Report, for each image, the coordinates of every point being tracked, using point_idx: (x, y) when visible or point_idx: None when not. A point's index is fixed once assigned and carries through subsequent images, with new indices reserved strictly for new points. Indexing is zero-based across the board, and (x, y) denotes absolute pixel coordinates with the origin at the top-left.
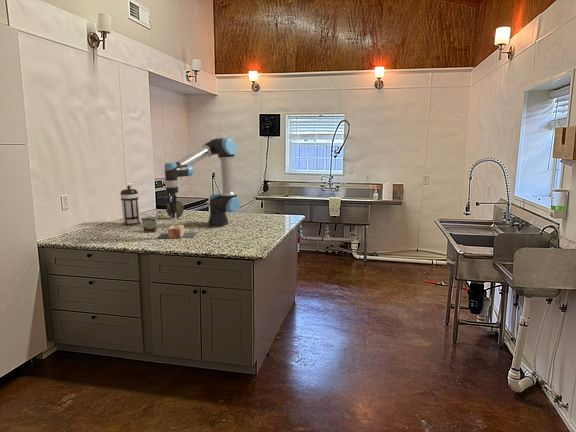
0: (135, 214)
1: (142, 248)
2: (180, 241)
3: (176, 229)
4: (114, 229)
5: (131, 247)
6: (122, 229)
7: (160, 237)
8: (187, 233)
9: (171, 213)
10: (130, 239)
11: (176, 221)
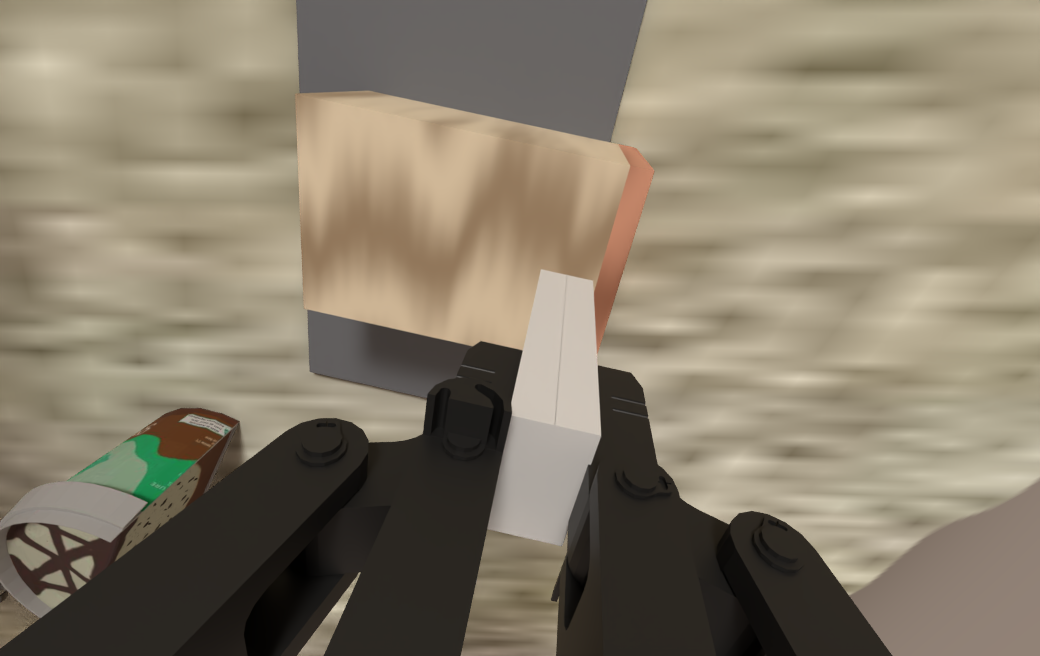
0: None
1: (910, 531)
2: (833, 155)
3: (632, 239)
4: None
5: None
6: None
7: None
8: (368, 32)
9: (565, 530)
10: (491, 583)
11: (557, 280)
